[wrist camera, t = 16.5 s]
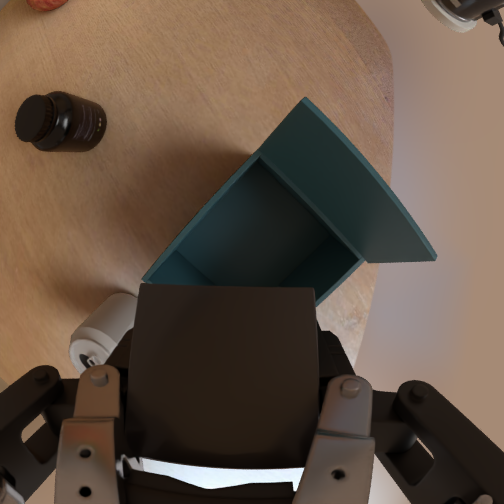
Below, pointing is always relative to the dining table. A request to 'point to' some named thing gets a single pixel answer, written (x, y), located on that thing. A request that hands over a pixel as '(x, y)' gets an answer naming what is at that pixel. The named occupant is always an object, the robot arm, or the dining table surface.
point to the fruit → (45, 4)
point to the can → (102, 331)
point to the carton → (258, 238)
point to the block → (224, 376)
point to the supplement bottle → (60, 122)
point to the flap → (345, 187)
